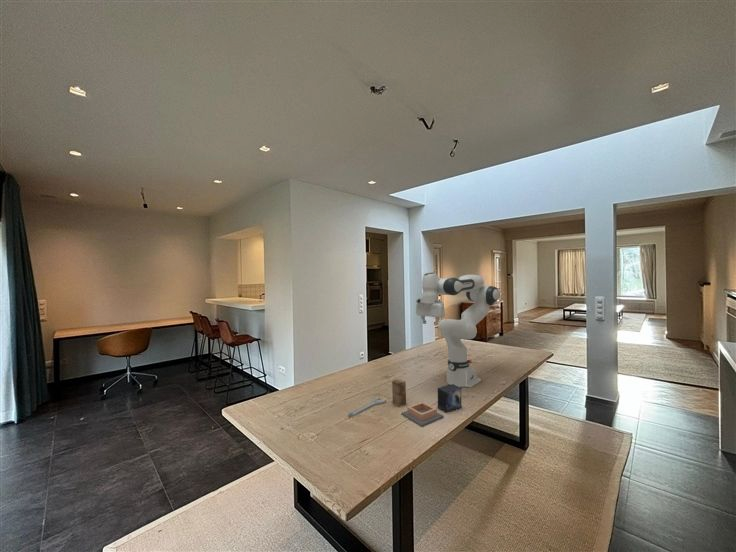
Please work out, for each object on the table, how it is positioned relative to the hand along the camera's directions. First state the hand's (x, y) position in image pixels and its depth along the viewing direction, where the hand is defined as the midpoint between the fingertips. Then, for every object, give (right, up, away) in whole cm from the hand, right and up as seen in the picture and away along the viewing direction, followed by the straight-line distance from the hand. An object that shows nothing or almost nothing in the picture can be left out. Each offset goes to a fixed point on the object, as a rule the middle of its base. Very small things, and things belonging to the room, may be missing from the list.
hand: (430, 324), depth 167 cm
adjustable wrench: (-36, -40, -17) cm, 57 cm away
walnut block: (-19, -39, -14) cm, 46 cm away
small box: (+6, -39, -21) cm, 45 cm away
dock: (-10, -39, -28) cm, 49 cm away
